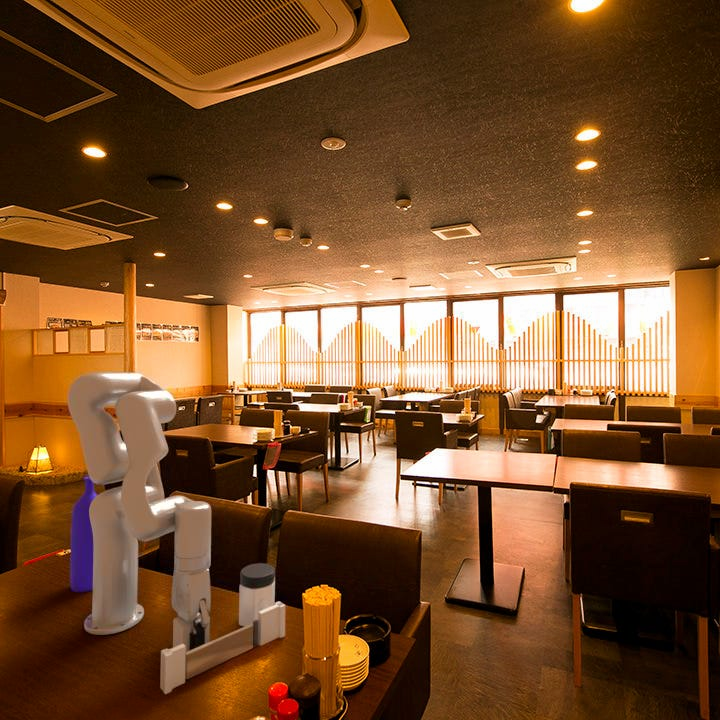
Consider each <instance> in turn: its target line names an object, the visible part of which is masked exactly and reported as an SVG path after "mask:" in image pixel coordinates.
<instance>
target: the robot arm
mask: <svg viewBox="0 0 720 720" xmlns="http://www.w3.org/2000/svg"><path fill="white" fill-rule="evenodd" d="M67 406H68V410H69V413H70V416H71V418H72V421H73V422H74V424H75V427H76V428H77V431H78V435H79V439H80V444H81V449H82V453H83V458H84V462H85V466H86V470H87V474H88V477H90V479H91V480H92V482H94V485H95V484H96V485H99V486H102V485H108V484H114V483H117V482H121V481H122V484H121V485H120V486H118V487H113V488H109V489H107V490H105V491H103V492H100V493H99V494H97V495H98V496H97V497H95V498H94V500H93V501H92V503H91V505H90V508H89V516H90V521H91V526H92V532H93V590H92V603H91V604H92V606H91V607H92V609H91V614H89V615H88V616H87V617H86V618H85V620H84V624H83V626H84V630H85V631H86V632H87V633H88V634H91V635H98V636H100V635H101V636H103V635H105V636H107V635H112V634H118V633H120V632H123V631H124V632H125V630H129V629H131V628H132V627H134V626H135V625H137V624H138V623H140V621H141V620H142V619H143V617H144V615H145V609H144V607H143V606H142V605H141V604H139V603H138V579H139V577H138V576H139V575H138V573H139V570H138V569H139V543H138V541H140V542H149V541H152V540H155V539H158V538H160V537H162V536H165V535H167V534H169V533H172V532H174V563H173V564H174V565H173V566H174V567H173V573H172V574H173V575H172V584H171V585H172V586H171V603H170V604H171V607H172V608H173V609H172V610H174V611H175V612H176V613H177V617H179V616H181V617H182V618H183V619H185V620H186V621H187V622H191V630H192V632H191V633H190V649H189V650H193V649H195V648H197V647H199V646H202V645H204V644H205V630H206V626H207V625H208V624H209V623H210V624H211V618H210V619H209V617H210V616H209V615H210V611H211V601H212V600H211V599H212V598H211V577H210V567H211V560H212V559H211V557H212V556H211V555H212V554H211V553H212V552H211V551H212V549H211V546H212V507H211V505H210V504H209V503H208V502H206V501H201V500H200V501H199V500H193V499H190V498H188V497H186V496H185V495H179V494H178V495H177V494H176V495H172V496H169V497H166V498H165V492H164V487H163V482H162V479H161V475H160V470H159V467H158V463H159V462H160V461H161V460H162V459H163V458H164V457H166V456H167V454H168V453H169V447H168V443H167V440H166V436H165V433H164V431H163V427H162V424H165V423H169V422H171V421H173V419H174V418H175V416H176V414H177V403H176V400H175V399H174V397H173V395H172V394H171V393H170V392H169V391H168V390H167V389H166V388H164V387H163V386H161V385H160V384H158V383H156V382H155V381H154V380H151V379H150V378H148V377H147V376H145V375H143V374H141V373H140V372H139V373H138V372H132V371H129V372H127V371H125V372H123V371H122V372H121V371H120V372H119V371H117V372H114V371H103V372H102V371H100V372H99V371H98V372H89V373H86V374H82V375H80V376H77V377H76V378H74V380H73V381H72V382H71V384H70V385H69V390H68V393H67ZM106 407H114V410H115V411H114V412H115V416H116V419H117V422H118V423H117V422H116V420H115V419H114V417H113V416H112V415H111V414H110V413H109V412H108V411H106V410H105V408H106ZM120 432H121V433H120ZM121 435H122V437H121ZM198 613H199V614H200V615H197V614H198ZM198 619H201V621H200V623H198V624H197V625H196V623H195V621H196V620H198Z"/></svg>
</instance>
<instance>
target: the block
mask: <svg viewBox="0 0 720 720" xmlns="http://www.w3.org/2000/svg"><path fill="white" fill-rule="evenodd" d="M197 615H200V614H199V613H198V614H197ZM209 619H210V620H211V617H210V616H209ZM172 621H173V623H172V624H173V625H172V627H173V628H172V648H174V647H176V646H178V645H181V644H184V645H185V646H186V652H188V651H190V650H189V649H190V633H191V632H192V630H191V622H187V621H186V620H185V619H183V618H182V617H181V616H179V617H178V616H177V617H174V618H173V619H172ZM200 621H201V619H198V620H196V621H195V623H196V625H197V624H198V623H200ZM210 624H211V622H210V623H209V624H208V625H207V626H206V630H205V644H206V643H209V642H210V632H211V627H210V626H211V625H210ZM185 657H186V654H185Z"/></svg>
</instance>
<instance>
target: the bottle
mask: <svg viewBox="0 0 720 720" xmlns="http://www.w3.org/2000/svg"><path fill="white" fill-rule="evenodd" d="M82 480H83V481H85V489H84V493H83V494H82V495H81V496H80V498H79V499H78V500H76V502H75V503H74V505H73V508H72V511H71V525H70V526H71V530H70V560H69V561H70V566H69V567H70V569H69V570H70V571H69V572H70V573H69V575H70V576H69V578H70V589H71V590H72V592H75V593H85V592H86V593H87V592H91V591H93V532H92V526H91V521H90V516H89V508H90V505H91V503H92V501H93V500H94V498H95V497H97V496H98V495H99V494H97V493H96V492H95V489H94V488H95V487H94V485H95V483H94V482H92V480H91V479H90V477H89V476H85V477H84V478H83V479H82Z"/></svg>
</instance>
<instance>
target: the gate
mask: <svg viewBox="0 0 720 720" xmlns="http://www.w3.org/2000/svg"><path fill="white" fill-rule="evenodd" d="M258 623H259V621H258V620H254V621H253V625H252V624H250V625H247V626H245V627H244V626H242V627H240V628H239V629H237V630H234V631H232V632H229V633H228V634H224V635H223V636H221V637H218V638H215V639H214V640H211V641H209V643H206V644H204V645H202V646H199V647H197V648H195V649H193V650H190V651H188V652H186V656H185V680H189V679H191V678H193V677H195V676H198V675H200V674H202V673H203V672H204V673H205V672H206V671H208V670H210V669H212V668H214V667H216V666H219V665H220V664H222V663H225V662H226V661H228V660H230V659H232V658H234V657H237V656H239V655H242V654H243V653H245V652H247V651H249V650H252V649H253V648H257V647H258V646H259V644H258Z"/></svg>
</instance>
